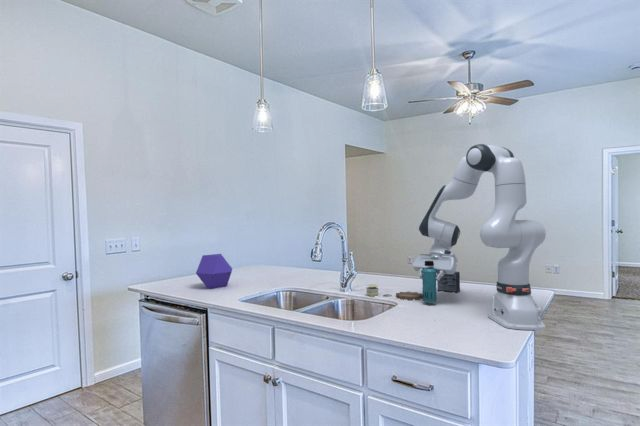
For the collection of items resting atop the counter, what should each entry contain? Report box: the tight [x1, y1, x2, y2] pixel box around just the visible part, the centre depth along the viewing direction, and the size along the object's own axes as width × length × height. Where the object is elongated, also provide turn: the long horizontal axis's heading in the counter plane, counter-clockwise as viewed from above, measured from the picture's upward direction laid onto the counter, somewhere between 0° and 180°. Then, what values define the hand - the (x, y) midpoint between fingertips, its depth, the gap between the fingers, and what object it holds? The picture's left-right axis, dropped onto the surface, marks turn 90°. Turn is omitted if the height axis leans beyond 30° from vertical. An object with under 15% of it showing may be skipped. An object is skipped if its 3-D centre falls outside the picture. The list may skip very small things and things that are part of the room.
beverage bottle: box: [421, 261, 438, 303], centre depth 178 cm, size 6×7×20 cm
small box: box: [436, 271, 461, 294], centre depth 205 cm, size 11×6×10 cm, turn 58°
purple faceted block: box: [195, 253, 233, 290], centre depth 227 cm, size 22×20×20 cm
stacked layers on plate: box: [365, 283, 379, 298], centre depth 197 cm, size 10×9×6 cm
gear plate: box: [395, 291, 423, 301], centre depth 192 cm, size 13×13×2 cm
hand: (428, 278), depth 177 cm, fingers closed on beverage bottle, 6 cm apart
